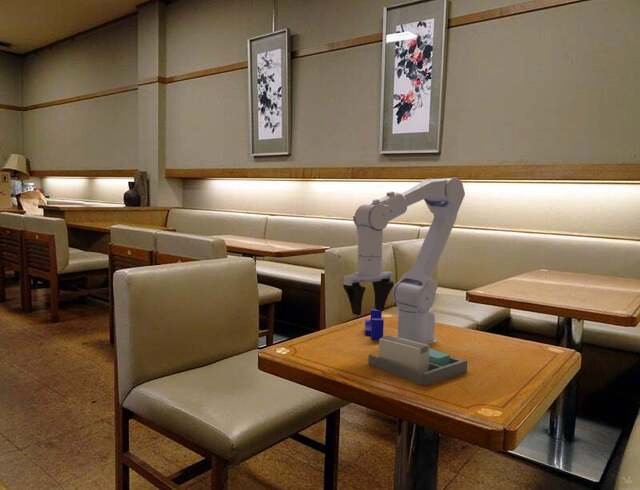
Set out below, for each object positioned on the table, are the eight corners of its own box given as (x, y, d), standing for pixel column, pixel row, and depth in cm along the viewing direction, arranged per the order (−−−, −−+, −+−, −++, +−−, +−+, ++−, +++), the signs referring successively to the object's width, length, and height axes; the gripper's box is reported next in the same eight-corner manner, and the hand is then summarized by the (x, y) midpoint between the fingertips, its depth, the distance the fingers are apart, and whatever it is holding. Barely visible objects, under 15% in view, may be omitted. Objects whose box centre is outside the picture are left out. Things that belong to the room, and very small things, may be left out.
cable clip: (364, 329, 137) (365, 309, 136) (380, 330, 136) (381, 309, 136) (365, 342, 125) (366, 319, 124) (382, 342, 124) (383, 320, 124)
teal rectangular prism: (413, 356, 112) (414, 343, 111) (449, 368, 104) (450, 355, 104) (401, 359, 109) (402, 346, 109) (437, 372, 101) (438, 358, 101)
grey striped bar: (389, 361, 108) (389, 334, 107) (428, 373, 101) (429, 345, 100) (378, 365, 105) (378, 338, 104) (418, 378, 98) (419, 349, 97)
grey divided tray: (409, 354, 115) (410, 342, 114) (466, 374, 102) (467, 360, 102) (368, 366, 106) (368, 353, 106) (425, 389, 94) (425, 374, 93)
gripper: (379, 252, 121) (377, 305, 122) (335, 255, 112) (334, 312, 113) (400, 255, 115) (398, 310, 117) (356, 258, 106) (354, 319, 108)
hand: (368, 312), depth 115 cm, fingers open, 7 cm apart
